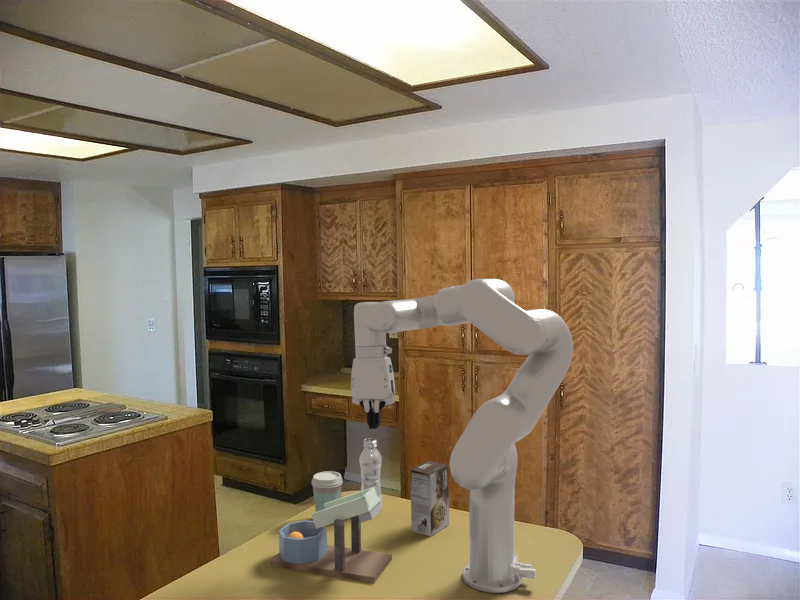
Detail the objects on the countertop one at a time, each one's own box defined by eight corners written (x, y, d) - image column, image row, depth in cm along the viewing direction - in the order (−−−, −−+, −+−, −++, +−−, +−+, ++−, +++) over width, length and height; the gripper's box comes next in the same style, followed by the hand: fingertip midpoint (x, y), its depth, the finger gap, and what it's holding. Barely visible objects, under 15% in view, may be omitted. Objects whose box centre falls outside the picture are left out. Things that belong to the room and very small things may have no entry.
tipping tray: (393, 498, 139) (384, 477, 140) (372, 520, 127) (363, 496, 128) (343, 515, 144) (335, 494, 144) (319, 537, 132) (310, 514, 132)
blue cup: (332, 546, 140) (332, 523, 140) (312, 566, 131) (312, 541, 130) (294, 540, 144) (294, 518, 143) (272, 559, 134) (271, 535, 134)
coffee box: (429, 519, 158) (428, 459, 158) (450, 524, 155) (449, 464, 154) (410, 531, 151) (409, 469, 151) (431, 537, 147) (430, 473, 147)
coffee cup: (338, 527, 154) (337, 481, 154) (307, 524, 156) (306, 479, 156) (347, 514, 163) (346, 471, 162) (318, 512, 164) (317, 469, 164)
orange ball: (291, 543, 140) (306, 547, 139) (282, 550, 137) (297, 555, 135) (292, 527, 140) (307, 531, 139) (284, 533, 136) (299, 538, 135)
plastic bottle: (357, 515, 162) (355, 443, 161) (362, 505, 169) (361, 436, 168) (380, 516, 161) (379, 443, 160) (384, 506, 168) (383, 437, 167)
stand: (392, 559, 136) (391, 508, 135) (374, 582, 125) (373, 527, 125) (294, 544, 144) (293, 496, 144) (270, 565, 134) (269, 513, 133)
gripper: (404, 350, 144) (408, 425, 145) (348, 351, 149) (351, 423, 149) (395, 354, 137) (398, 432, 138) (336, 354, 142) (339, 430, 142)
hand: (374, 427), depth 143 cm, fingers closed
